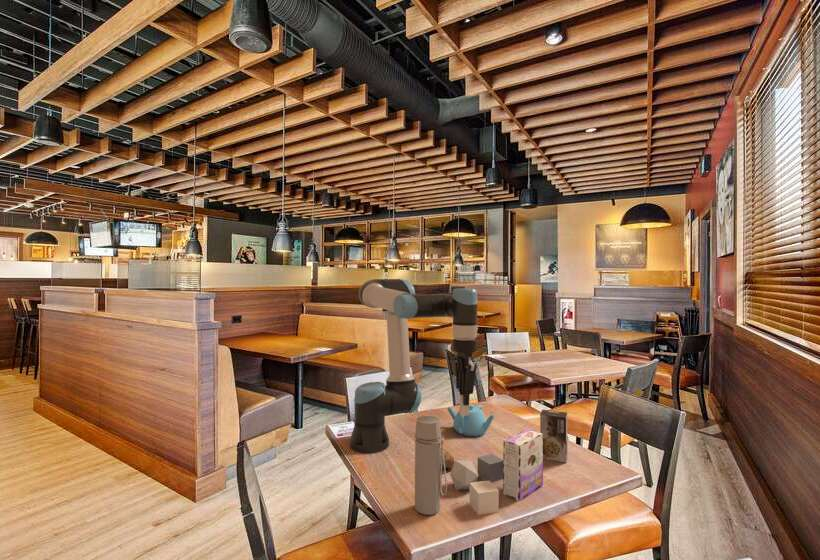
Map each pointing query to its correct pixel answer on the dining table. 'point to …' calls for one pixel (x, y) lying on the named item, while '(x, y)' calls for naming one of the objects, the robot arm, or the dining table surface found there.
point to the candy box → (522, 464)
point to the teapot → (471, 421)
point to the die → (463, 474)
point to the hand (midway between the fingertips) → (464, 414)
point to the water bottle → (428, 465)
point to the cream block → (484, 497)
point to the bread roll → (446, 461)
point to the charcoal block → (490, 468)
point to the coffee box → (554, 435)
